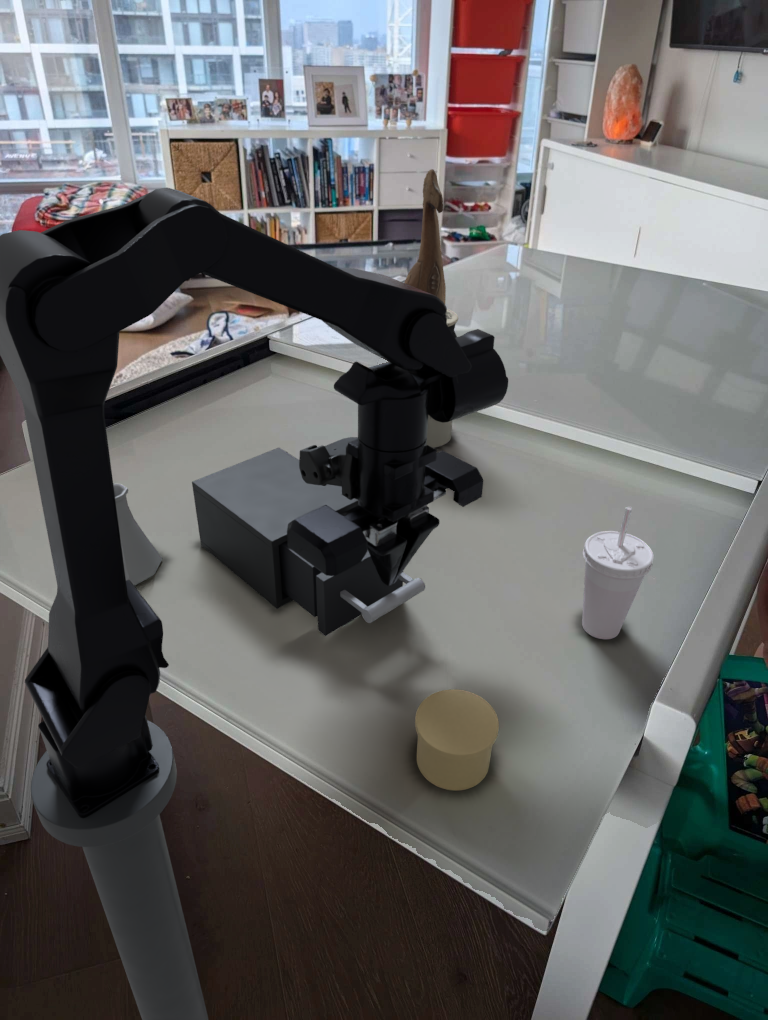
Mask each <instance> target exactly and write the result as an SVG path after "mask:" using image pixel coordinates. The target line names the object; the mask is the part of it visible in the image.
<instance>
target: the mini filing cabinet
mask: <svg viewBox="0 0 768 1020" xmlns="http://www.w3.org/2000/svg"><path fill="white" fill-rule="evenodd" d="M191 484H192V485H191V486H192V492H193V500H194V505H195V507H194V508H195V513H196V520H197V526H198V533H199V534H198V535H199V540H200V546H201V547H202V548H203V549H205V550H206V551H207V552H208V553H209V554H211V555H212V557H214V558H215V559H216V560H218V561H219V562H220V563H221V564H222V565H224V566H225V567H226V568H227V569H228V570H229V571H231V572H232V573H233V574H234V575H235V576H237V577H238V578H239V579H240V580H241V581H243V582H244V583H245V584H246V585H247V586H249V587H250V588H251V589H252V590H253V591H254V592H256V593H257V594H258V595H259V596H260V597H262V598H263V599H264V600H265V601H266V602H268V603H269V604H270V605H271V606H272V607H274V608H275V609H276V610H279V609H280V608H282V607H284V606H286V605H287V604H289V603H291V602H294V600H292V599H291V598H290V597H289V596H287V595H286V594H285V593H284V592H282V585H281V571H280V557H279V545H280V544H282V543H284V542H286V541H287V528H288V523H290V522H291V521H293V520H294V519H296V518H298V517H300V516H303V515H305V514H307V513H309V512H311V511H313V510H315V509H318V508H320V507H322V506H324V505H327V506H329V507H330V508H332V509H333V510H335V511H337V512H338V513H340V514H341V513H343V512H345V511H348V510H350V509H352V508H354V507H356V506H358V505H359V504H358V500H357V499H355V498H354V499H352V500H350V499H348V498H346V497H345V496H343V495H342V486H334V485H326V486H322V485H314V484H307V483H306V482H305V481H304V480H303V479H302V475H301V472H300V468H299V458H297V457H296V456H293V455H292V454H290V453H289V452H287V451H286V450H284V449H283V448H281V447H277V448H274V449H272V450H269V451H265V452H263V453H260V454H259V455H255V456H254V457H251V458H248V459H246V460H243V461H240V462H238V463H236V464H232V465H231V466H227V467H225V468H223V469H221V470H218V471H216V472H215V471H214V472H213V473H211V474H208V475H205V476H203V477H200V478H198V479H195V480H193V481H191Z"/></svg>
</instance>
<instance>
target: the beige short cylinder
mask: <svg viewBox="0 0 768 1020" xmlns="http://www.w3.org/2000/svg"><path fill="white" fill-rule="evenodd" d="M414 727H415V730H416V735H417V743H416V744H417V745H416V764H417V767H418V770H419V771H420V773H421V774H422V776H423V777H424V778H425V779H426V780H427V781H428V782H429V783H430V784H432V785H434V786H436V787H438V788H440V789H443V790H447V791H465V790H469V789H471V788H474V787H476V786H477V785H479V784H480V783H481V782H482V781H483V780H484V779H485V777H486V776H487V774H488V772H489V769H490V762H491V756H492V749H493V746H494V744H495V743H496V740H497V738H498V736H499V735H498V734H499V729H500V728H499V727H500V722H499V717H498V715H497V712H496V711H495V709H494V707H493V706H492V705H491V704H490V703H489V702H488V701H487V700H486V699H485V698H484V697H482V696H480V695H479V694H476V693H473V692H472V691H468V690H463V689H453V688H451V689H443V690H439V691H436V692H434V693H431V694H430V695H428V696H426V697H425V698H424V699H423V700H422V701H421V702H420V704H419V705H418V707H417V709H416V711H415V719H414Z"/></svg>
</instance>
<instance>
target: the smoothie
mask: <svg viewBox="0 0 768 1020" xmlns="http://www.w3.org/2000/svg"><path fill="white" fill-rule="evenodd" d="M632 510H633V508H632V506H626V507H625V508H624V512H623V513H624V514H623V517H622V522H621V525H620V530H619V531H617V530H604V531H603V530H602V531H598V532H595V533H593V534H592V535H590V536H588V538H587V539H586V540H585V542H584V547H583V549H582V557H583V559H584V561H585V564H584V581H583V585H584V587H583V600H582V601H583V602H582V617H581V619H582V620H581V626H582V628H583V630H584V632H586V633H587V635H590V636H591V637H593V638H596V639H600V640H611V639H614V638H616V637H617V636H618V635H619V634H620V632H621V630H622V627H623V625H624V623H625V621H626V619H627V616H628V614H629V612H630V609H631V607H632V605H633V602H634V600H635V598H636V596H637V593H638V592H639V589H640V586H641V585H642V584H643V583H642V582H643V580H644V578H645V576H647V574H648V573H650V571H651V570H652V569H653V562H654V557H655V555H654V552H653V550H652V548H651V547H650V546H649V545H648V544H647V543H646V541H644V540H642V539H641V538H639V537H637V536H635V535H634V534H633V535H632V534H630V533H627V532H628V531H627V530H628V526H629V523H630V518H631V515H632Z"/></svg>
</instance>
